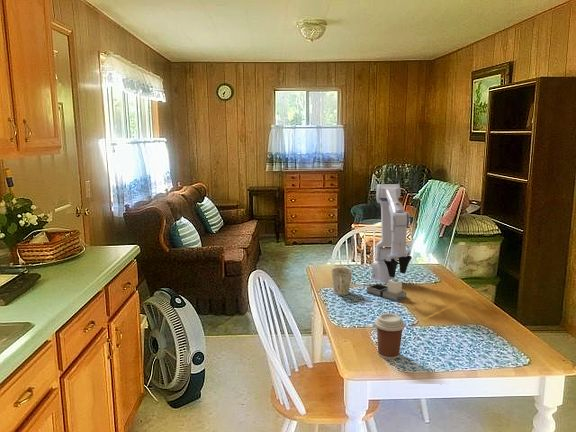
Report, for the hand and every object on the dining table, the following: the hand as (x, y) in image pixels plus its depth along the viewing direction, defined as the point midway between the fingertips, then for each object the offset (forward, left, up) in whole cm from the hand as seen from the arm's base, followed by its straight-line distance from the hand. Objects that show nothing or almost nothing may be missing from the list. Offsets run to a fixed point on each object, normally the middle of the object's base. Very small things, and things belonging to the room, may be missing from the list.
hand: (397, 274), depth 196 cm
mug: (-18, -14, -10) cm, 25 cm away
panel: (-5, -1, -10) cm, 11 cm away
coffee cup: (+27, -43, -10) cm, 52 cm away
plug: (-1, -1, -9) cm, 9 cm away
